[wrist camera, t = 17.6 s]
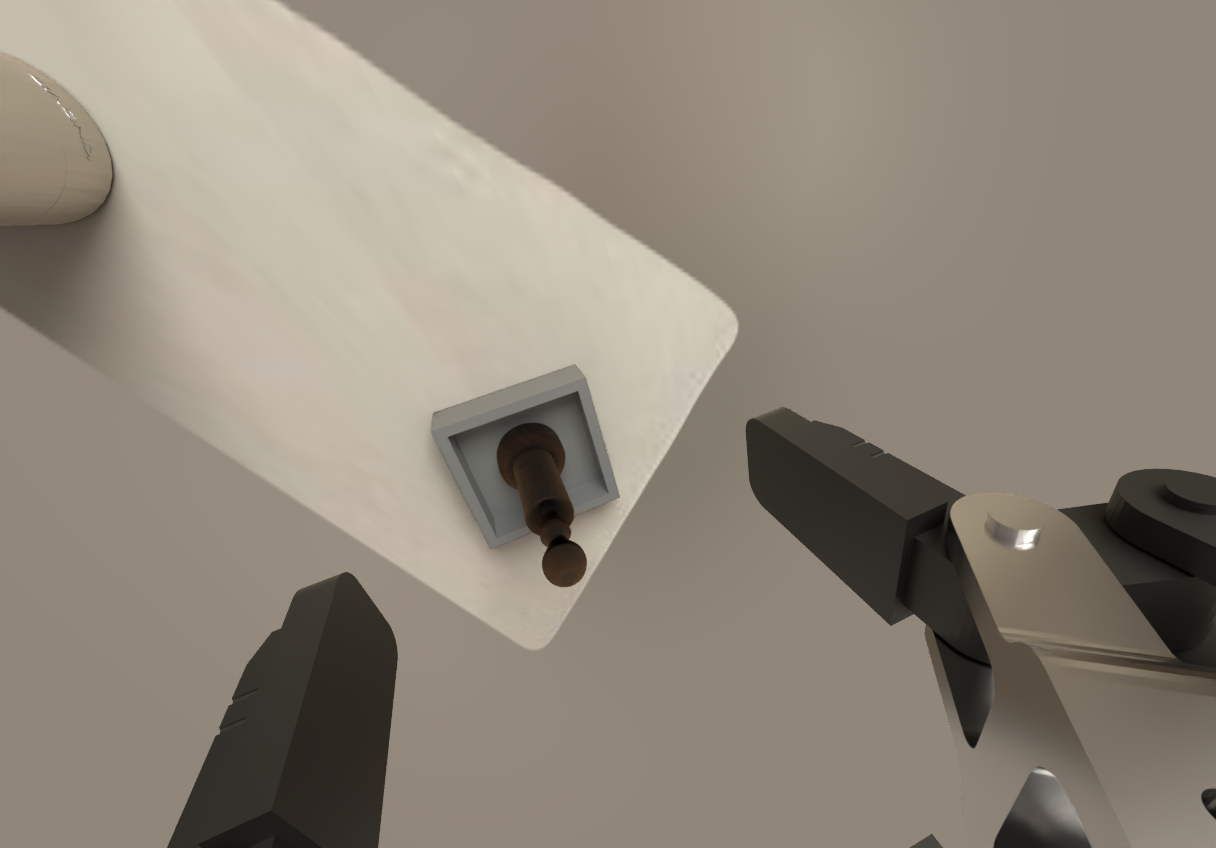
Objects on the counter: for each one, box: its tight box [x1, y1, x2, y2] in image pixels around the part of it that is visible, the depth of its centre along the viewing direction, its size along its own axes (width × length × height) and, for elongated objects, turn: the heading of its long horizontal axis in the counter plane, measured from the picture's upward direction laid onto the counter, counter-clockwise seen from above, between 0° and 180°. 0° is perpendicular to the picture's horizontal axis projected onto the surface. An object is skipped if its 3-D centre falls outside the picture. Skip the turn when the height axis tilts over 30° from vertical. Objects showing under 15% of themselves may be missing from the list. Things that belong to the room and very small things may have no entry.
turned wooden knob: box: [497, 423, 587, 587], centre depth 37 cm, size 7×6×18 cm
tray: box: [431, 365, 620, 549], centre depth 44 cm, size 14×14×4 cm
